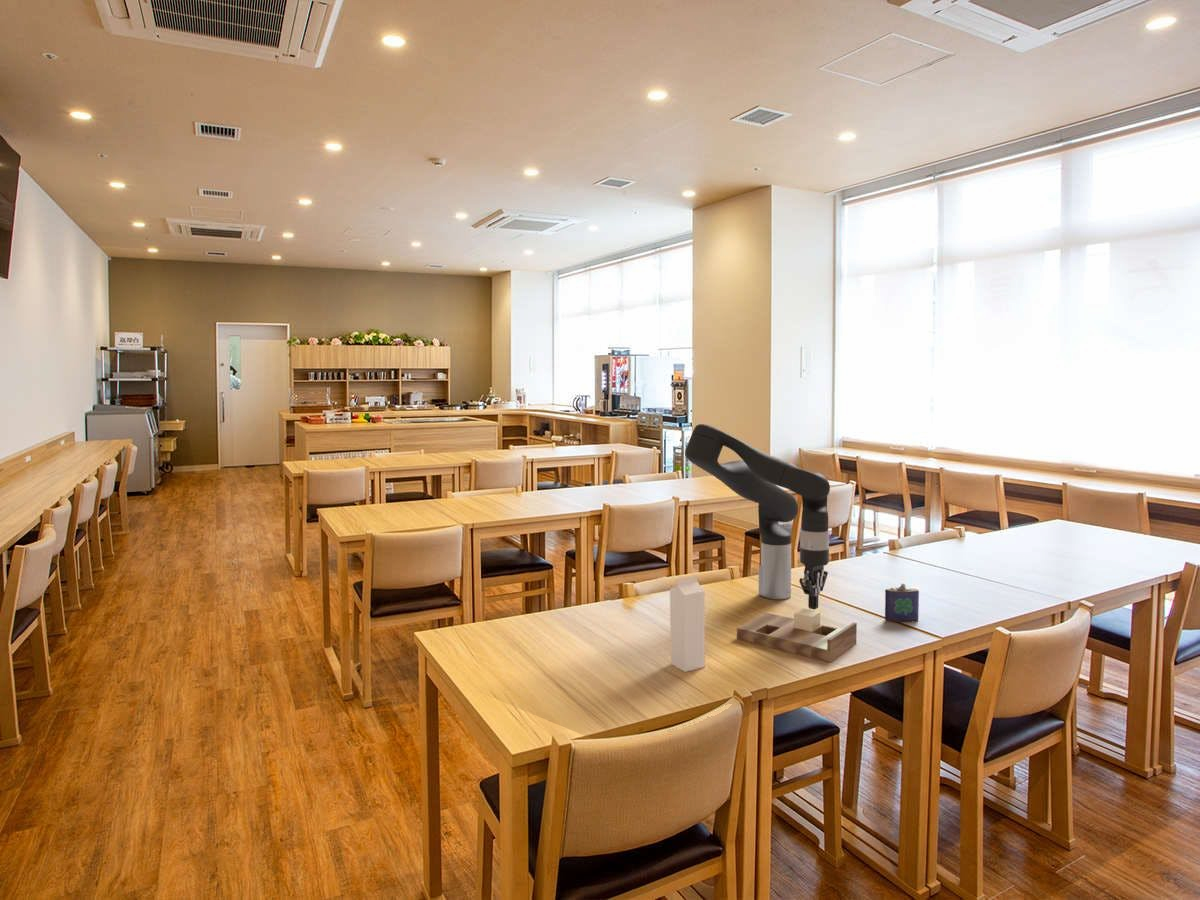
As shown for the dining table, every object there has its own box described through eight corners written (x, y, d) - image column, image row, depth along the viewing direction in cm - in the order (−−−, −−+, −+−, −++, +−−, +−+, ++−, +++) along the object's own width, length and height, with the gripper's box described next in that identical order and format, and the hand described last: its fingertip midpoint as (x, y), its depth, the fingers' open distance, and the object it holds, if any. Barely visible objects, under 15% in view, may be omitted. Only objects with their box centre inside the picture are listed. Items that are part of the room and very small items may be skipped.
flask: (916, 618, 208) (917, 582, 207) (920, 622, 205) (921, 585, 204) (883, 619, 209) (884, 582, 208) (886, 622, 206) (887, 585, 205)
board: (736, 638, 195) (736, 618, 195) (766, 622, 207) (766, 604, 207) (830, 662, 178) (830, 640, 178) (856, 643, 190) (856, 622, 190)
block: (793, 627, 194) (794, 613, 194) (802, 622, 198) (802, 608, 198) (811, 631, 191) (811, 616, 191) (820, 626, 195) (820, 611, 194)
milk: (705, 667, 177) (705, 578, 175) (684, 672, 174) (684, 582, 172) (690, 659, 182) (690, 572, 180) (670, 664, 179) (669, 576, 177)
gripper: (816, 552, 192) (815, 617, 193) (838, 543, 202) (836, 605, 203) (790, 548, 197) (789, 611, 198) (812, 540, 207) (811, 600, 208)
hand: (813, 608), depth 201 cm, fingers closed
